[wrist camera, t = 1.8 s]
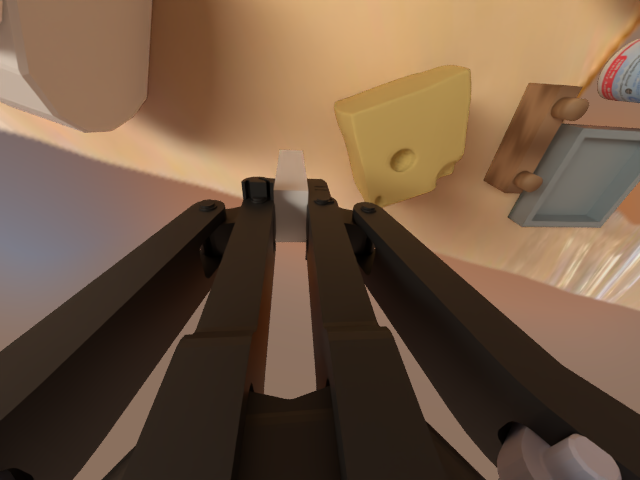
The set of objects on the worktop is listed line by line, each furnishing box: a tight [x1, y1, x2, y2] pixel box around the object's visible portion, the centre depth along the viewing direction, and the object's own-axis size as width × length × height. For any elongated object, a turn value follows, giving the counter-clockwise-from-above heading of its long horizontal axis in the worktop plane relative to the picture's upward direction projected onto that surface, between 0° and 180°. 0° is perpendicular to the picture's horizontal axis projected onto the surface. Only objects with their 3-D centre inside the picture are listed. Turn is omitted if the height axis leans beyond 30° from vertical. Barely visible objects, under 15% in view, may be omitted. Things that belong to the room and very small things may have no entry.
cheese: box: [334, 65, 471, 208], centre depth 27 cm, size 10×11×10 cm
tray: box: [508, 124, 640, 228], centre depth 36 cm, size 14×14×3 cm
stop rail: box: [484, 83, 589, 193], centre depth 30 cm, size 12×2×6 cm, turn 176°
